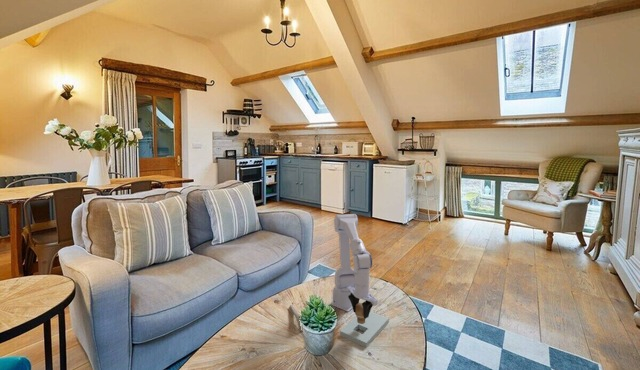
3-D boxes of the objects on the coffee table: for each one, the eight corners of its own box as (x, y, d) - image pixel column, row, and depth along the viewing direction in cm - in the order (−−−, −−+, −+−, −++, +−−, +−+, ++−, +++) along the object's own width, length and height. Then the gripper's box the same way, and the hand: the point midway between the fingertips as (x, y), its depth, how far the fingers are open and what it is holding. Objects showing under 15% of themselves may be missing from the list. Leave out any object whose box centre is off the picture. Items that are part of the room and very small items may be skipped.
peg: (353, 319, 128) (353, 303, 127) (364, 317, 129) (364, 302, 128) (357, 325, 123) (358, 310, 122) (369, 324, 124) (369, 308, 123)
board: (339, 335, 126) (340, 330, 125) (364, 312, 142) (364, 308, 141) (366, 347, 119) (366, 342, 118) (388, 322, 134) (388, 318, 134)
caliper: (302, 332, 128) (302, 318, 127) (300, 332, 128) (300, 319, 127) (291, 306, 147) (291, 294, 146) (289, 306, 147) (289, 294, 146)
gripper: (383, 286, 121) (381, 318, 123) (354, 273, 131) (354, 303, 133) (371, 292, 116) (370, 325, 118) (343, 278, 126) (342, 309, 129)
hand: (360, 314), depth 125 cm, fingers closed on peg, 5 cm apart
